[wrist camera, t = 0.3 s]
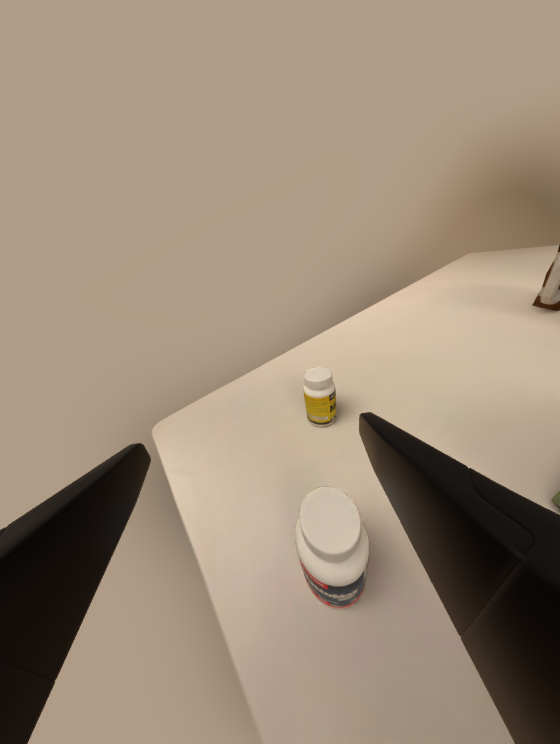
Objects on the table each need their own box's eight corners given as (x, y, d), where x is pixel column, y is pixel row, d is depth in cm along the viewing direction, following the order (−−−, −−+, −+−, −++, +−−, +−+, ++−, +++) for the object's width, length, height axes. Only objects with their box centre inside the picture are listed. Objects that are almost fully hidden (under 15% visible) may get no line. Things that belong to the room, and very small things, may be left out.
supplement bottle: (336, 428, 31) (334, 383, 27) (305, 427, 32) (298, 383, 28) (336, 407, 35) (334, 364, 31) (309, 406, 36) (303, 365, 32)
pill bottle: (297, 596, 17) (278, 552, 12) (308, 524, 21) (297, 472, 16) (368, 623, 15) (375, 582, 11) (364, 538, 19) (368, 484, 15)
